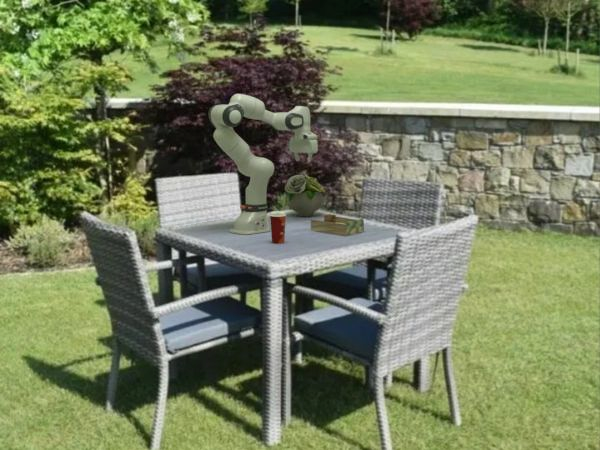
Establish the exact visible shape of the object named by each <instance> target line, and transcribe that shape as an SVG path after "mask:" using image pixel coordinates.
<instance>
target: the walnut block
mask: <svg viewBox="0 0 600 450" xmlns="http://www.w3.org/2000/svg"><path fill="white" fill-rule="evenodd" d="M336 217H337V215H336V214H331V213H329V214H328V213H327V214H324V215H323V221H326V222H333V223H336Z"/></svg>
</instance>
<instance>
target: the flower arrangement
mask: <svg viewBox="0 0 600 450" xmlns="http://www.w3.org/2000/svg"><path fill="white" fill-rule="evenodd" d="M317 181H318V180H317V178H316V177H313V176H312V175H307V174H300V175H299V174H297V175H293V176H290V177H289V178H288V181H287V182H286V184H285V187H284V190H285V192H287V194H286V195H287V196H286V203H287V205H288V208H289V209H291V211H294V212H295V213H296V214H297V216H299V217H312V216H313V215H314V214H313V213H315V212H317V211H318V210H319V209H321V208H322V206H323V202H324V196H325V192H326V190H325V189H324V187H323V186H322V185H321V184H320V183H319V182H317Z"/></svg>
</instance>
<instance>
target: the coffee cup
mask: <svg viewBox="0 0 600 450" xmlns="http://www.w3.org/2000/svg"><path fill="white" fill-rule="evenodd" d="M269 216H270V217H269V219H270V233H271V243H272V244H278V245H279V244H284V243H285V237H286V236H285V235H286V234H285V233H286V217H287V212H285V211H280V210H274V211H270V214H269Z"/></svg>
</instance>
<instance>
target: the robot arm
mask: <svg viewBox="0 0 600 450" xmlns="http://www.w3.org/2000/svg"><path fill="white" fill-rule="evenodd" d="M310 111H311V110H310V109H309V107H307V106H305V105H295V107H294V108H293V109H291V110H289V111H287V112H285V111H284V112H281V111H276V112H272V111H269V110H267V109H266V105H265V103H264V101H262V100H260V99H259V98H256V97H254V96H252V95H248V94H242V93H235V94H233V95H232V96H231V98H230V100H229V103H228V104H215V105H213V106H211V107H210V108H209V109H208V119H209V122H210V123H211V127H212V128H213V129H214V132H213V136H212V137H213V139H214V141H215V142H216V144H217V145H218V146H219V148H220V149H221V150H222V151H223V152H224V153H225V154H226V155H227V156H228V157H230V159H232V161H233V162H234V163H235V164H236V166H237V170H238V171H239V173H241V175H244V176H245V177H250V179H249V183H248V185H247V186H246V188H245V203H244V205H242V204H241V205H240V206H239V208H240V209H241V210H242V212H241V213H240V214H239V215H238V217H236V219H235V220H234V223H233V228H231V229H229V233H232V234H237V235H244V236H245V235H247V236H248V235H255V234H261V233H267V232H271V227H270V224H269V223H270V222H269V216H268V202H267V189H268V184H269V181H270V179H271V177H272V175H274V172H275V165H274V163H273V161H271V160H270V159H268V158H266V157H261V156H256V155H255V154H253V153H252V152H251V148H250V145H249V144H248V143H247V142H246V141H245V140H244V139H243V138H242V137H241V136H239V134H238V133H237V132H236V131H235V130H234V128H235V127H238V126H239V125H240V124H241V123H242V120H243V117H245V118H247V119H251V120H256V121H257V120H259V121H261V122H264V123H266V124H268V125H269V126H270V127H272V129H274V130H276V131H280V132H281V131H294V135H291V136H290V138H289V139H290V140H289V146H288V150H289V153H293V156H294V158H295V161H296V162H298V161H299V162H300V160H301V158H300V156H299V154H307V155H308V157H307V158H306V161H307V162H312V157H313V155H314V154H317V153H318V151H319V146H318V144H319V143H318V140H317V139H318V135H317V134H316V133H313V132H312V131H311V130H312V129H311V121H312V120H311V112H310Z"/></svg>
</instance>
